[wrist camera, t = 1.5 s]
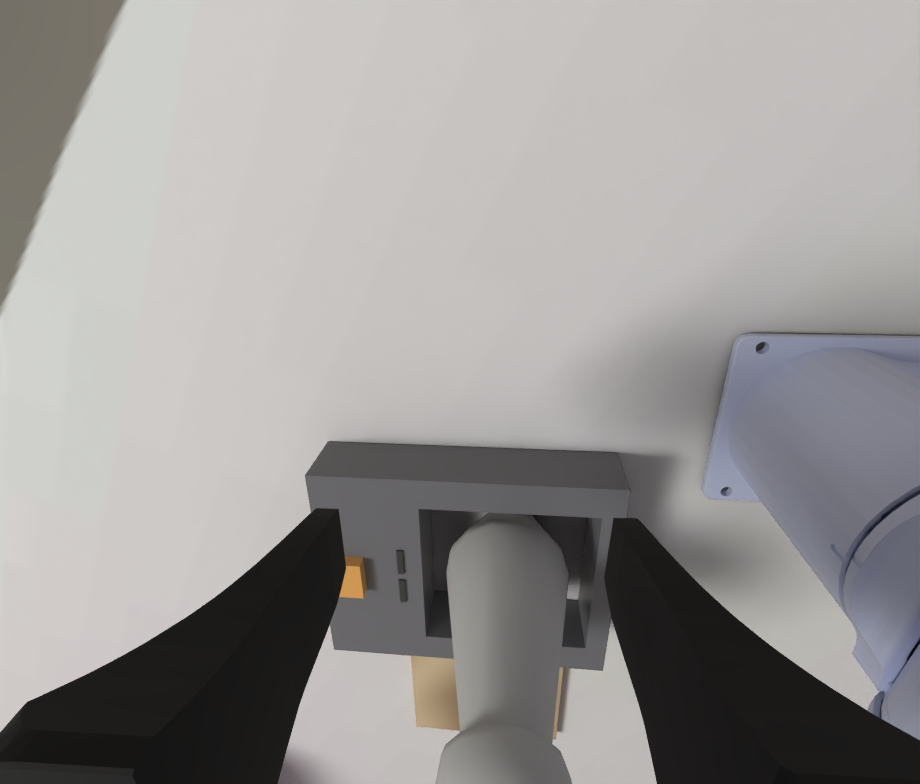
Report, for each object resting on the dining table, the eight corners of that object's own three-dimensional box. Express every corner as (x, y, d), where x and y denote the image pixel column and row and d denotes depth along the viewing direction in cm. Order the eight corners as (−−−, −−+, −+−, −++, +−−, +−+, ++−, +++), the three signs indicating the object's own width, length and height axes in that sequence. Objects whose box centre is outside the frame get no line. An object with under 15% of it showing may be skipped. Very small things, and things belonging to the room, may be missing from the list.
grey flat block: (616, 452, 23) (634, 499, 20) (593, 621, 28) (604, 681, 25) (328, 441, 25) (299, 483, 21) (350, 604, 29) (330, 659, 26)
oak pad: (565, 632, 28) (566, 639, 28) (555, 731, 32) (555, 739, 32) (410, 621, 29) (408, 628, 29) (417, 718, 33) (416, 726, 32)
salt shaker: (461, 483, 25) (416, 768, 13) (574, 504, 25) (631, 810, 13) (445, 570, 27) (394, 875, 16) (548, 589, 27) (575, 912, 15)
